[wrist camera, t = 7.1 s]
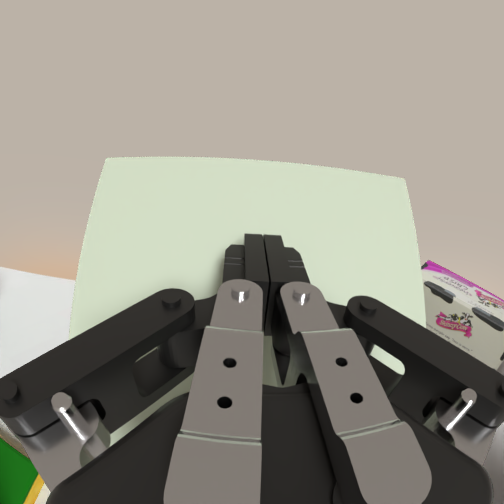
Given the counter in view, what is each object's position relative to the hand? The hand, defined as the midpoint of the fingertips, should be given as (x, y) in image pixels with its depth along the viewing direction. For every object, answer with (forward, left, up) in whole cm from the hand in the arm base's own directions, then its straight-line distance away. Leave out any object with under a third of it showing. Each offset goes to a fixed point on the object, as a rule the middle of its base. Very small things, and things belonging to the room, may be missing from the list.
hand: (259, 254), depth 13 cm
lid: (0, +1, -3) cm, 3 cm away
